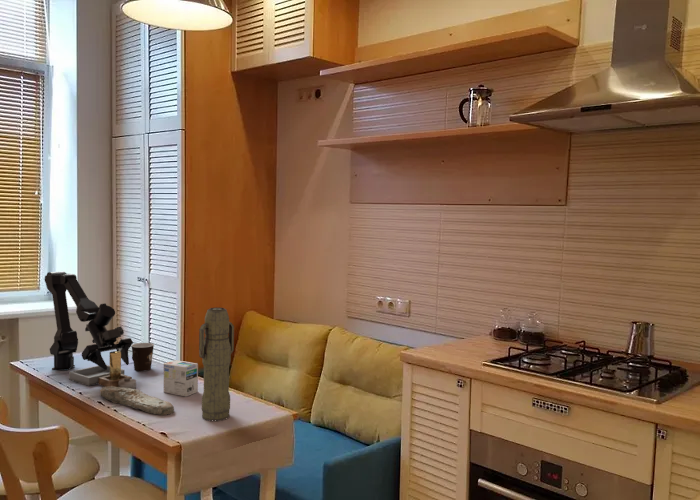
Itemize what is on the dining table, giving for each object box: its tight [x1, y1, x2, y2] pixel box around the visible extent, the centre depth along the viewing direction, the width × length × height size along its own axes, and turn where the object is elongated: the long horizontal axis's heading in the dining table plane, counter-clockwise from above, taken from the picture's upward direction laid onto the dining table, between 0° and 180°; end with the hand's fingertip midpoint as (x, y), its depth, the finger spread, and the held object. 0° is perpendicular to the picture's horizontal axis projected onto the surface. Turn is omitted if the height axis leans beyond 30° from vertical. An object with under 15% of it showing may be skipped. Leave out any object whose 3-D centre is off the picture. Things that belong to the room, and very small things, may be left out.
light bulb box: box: [163, 359, 199, 397], centre depth 223 cm, size 11×7×11 cm, turn 65°
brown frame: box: [98, 374, 137, 389], centre depth 230 cm, size 14×8×3 cm, turn 55°
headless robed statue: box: [198, 307, 235, 422], centre depth 198 cm, size 9×12×35 cm
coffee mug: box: [131, 342, 155, 372], centre depth 251 cm, size 12×9×10 cm
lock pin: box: [109, 350, 122, 381], centre depth 231 cm, size 4×4×12 cm
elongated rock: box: [99, 386, 175, 416], centre depth 210 cm, size 35×5×10 cm
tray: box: [68, 364, 125, 387], centre depth 238 cm, size 13×15×3 cm
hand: (117, 366), depth 230 cm, fingers open, 9 cm apart
